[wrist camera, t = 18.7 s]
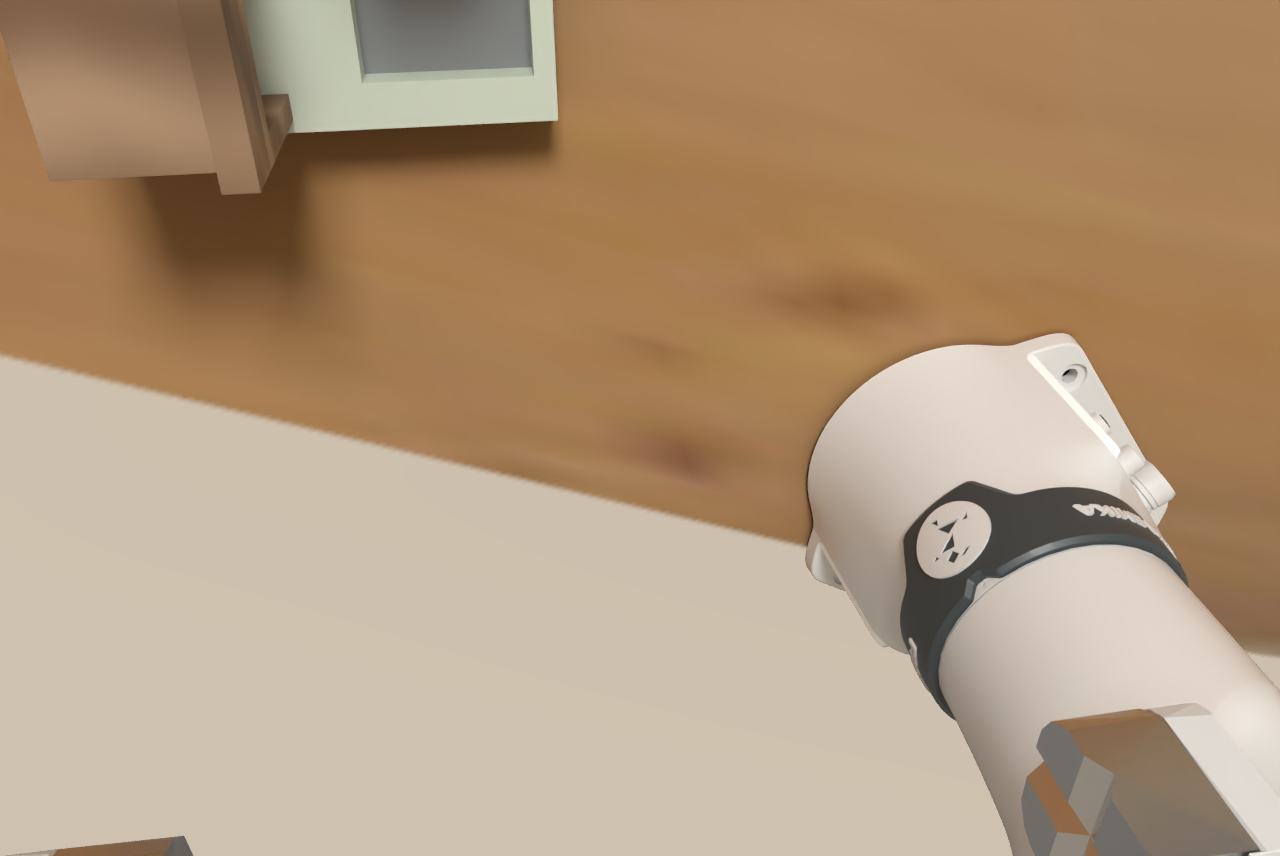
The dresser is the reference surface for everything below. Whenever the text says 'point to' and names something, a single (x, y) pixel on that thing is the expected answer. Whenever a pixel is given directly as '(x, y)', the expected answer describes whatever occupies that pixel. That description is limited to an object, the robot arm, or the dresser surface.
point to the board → (405, 61)
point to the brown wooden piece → (144, 89)
